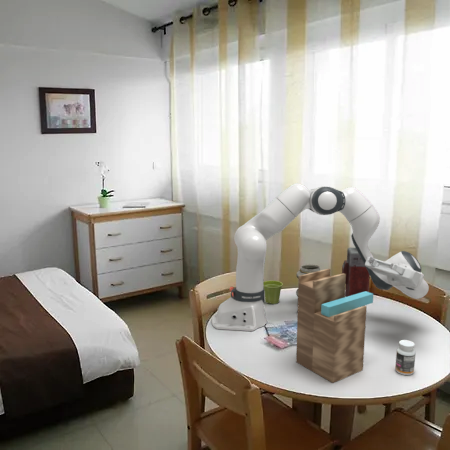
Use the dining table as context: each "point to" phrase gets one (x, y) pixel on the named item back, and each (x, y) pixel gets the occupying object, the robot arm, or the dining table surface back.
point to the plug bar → (346, 304)
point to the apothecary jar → (307, 271)
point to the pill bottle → (405, 357)
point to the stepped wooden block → (328, 328)
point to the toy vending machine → (355, 273)
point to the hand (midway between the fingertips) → (380, 262)
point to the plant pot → (272, 291)
